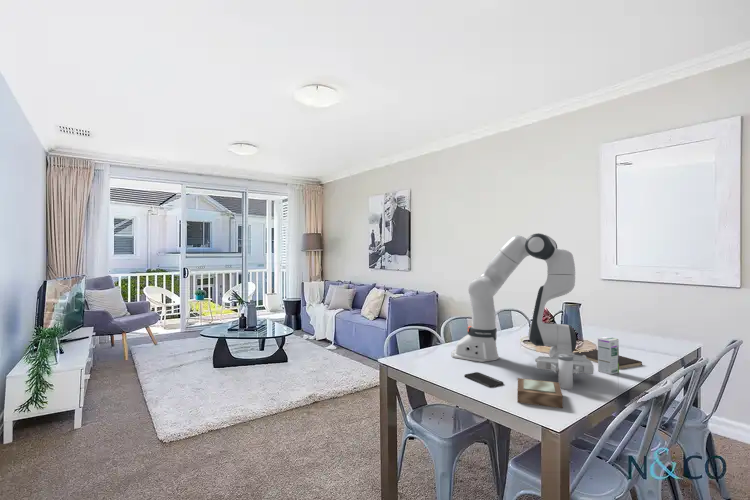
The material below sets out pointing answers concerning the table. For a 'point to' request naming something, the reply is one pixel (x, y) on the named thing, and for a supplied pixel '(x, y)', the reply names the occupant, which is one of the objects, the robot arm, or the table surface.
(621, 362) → the hardcover book
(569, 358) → the canister
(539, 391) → the walnut base
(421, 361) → the table surface
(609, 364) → the syrup box
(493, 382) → the phone
